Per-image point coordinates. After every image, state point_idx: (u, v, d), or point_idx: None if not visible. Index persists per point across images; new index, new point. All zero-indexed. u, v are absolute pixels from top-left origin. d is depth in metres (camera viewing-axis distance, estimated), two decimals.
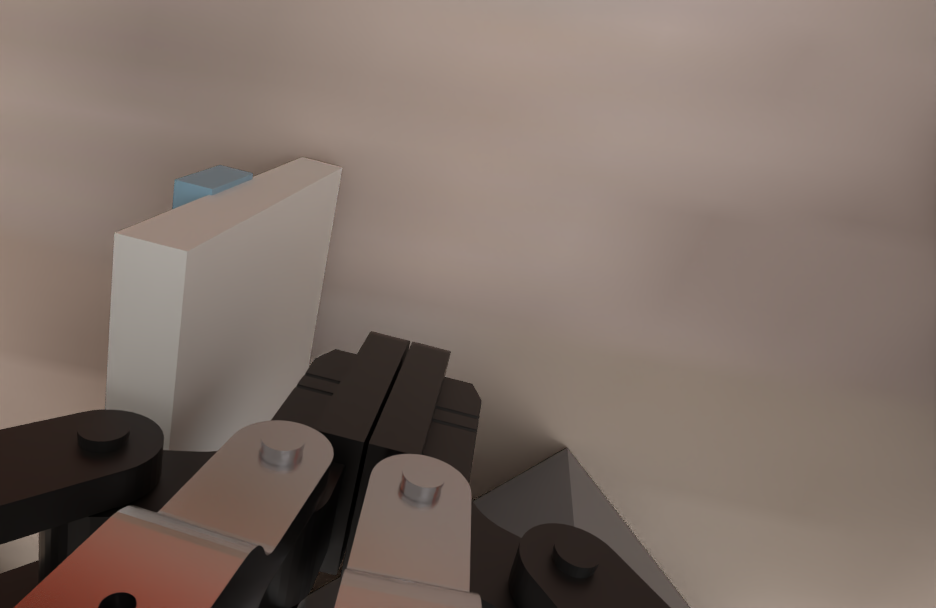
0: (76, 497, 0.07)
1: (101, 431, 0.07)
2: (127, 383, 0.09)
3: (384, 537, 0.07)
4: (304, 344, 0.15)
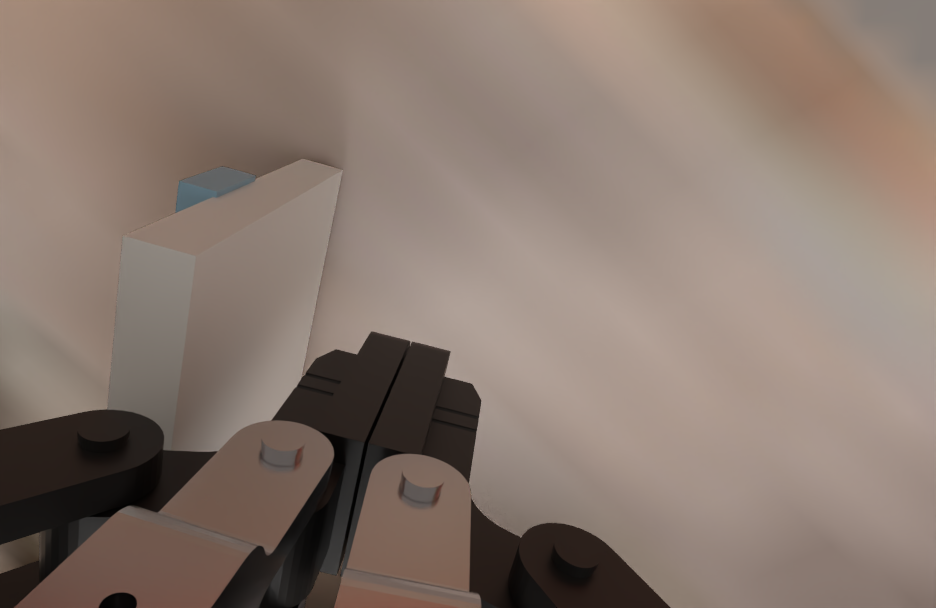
0: (77, 497, 0.07)
1: (103, 431, 0.07)
2: (130, 386, 0.09)
3: (384, 537, 0.07)
4: (300, 345, 0.15)
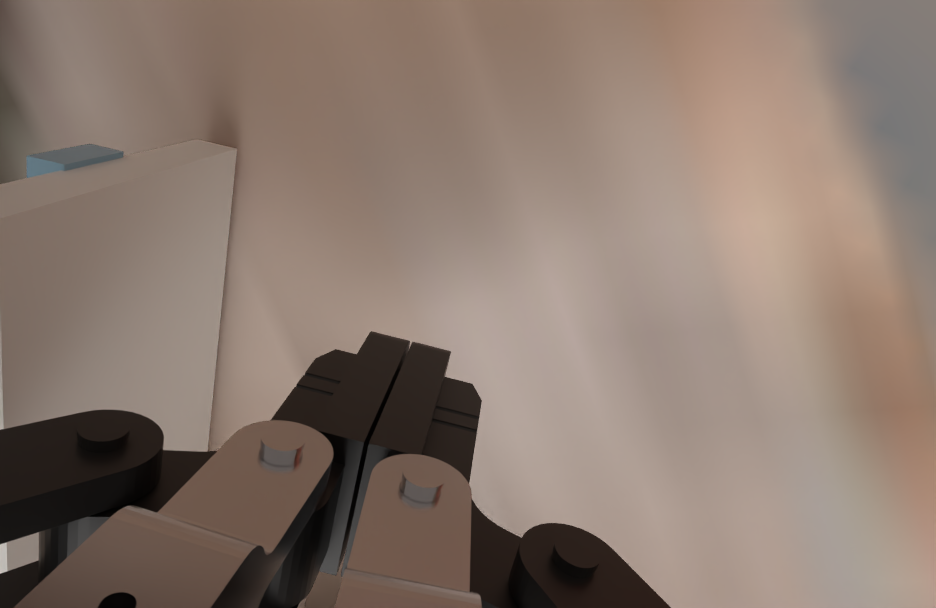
0: (76, 497, 0.07)
1: (102, 431, 0.07)
2: None
3: (384, 537, 0.07)
4: (206, 327, 0.15)
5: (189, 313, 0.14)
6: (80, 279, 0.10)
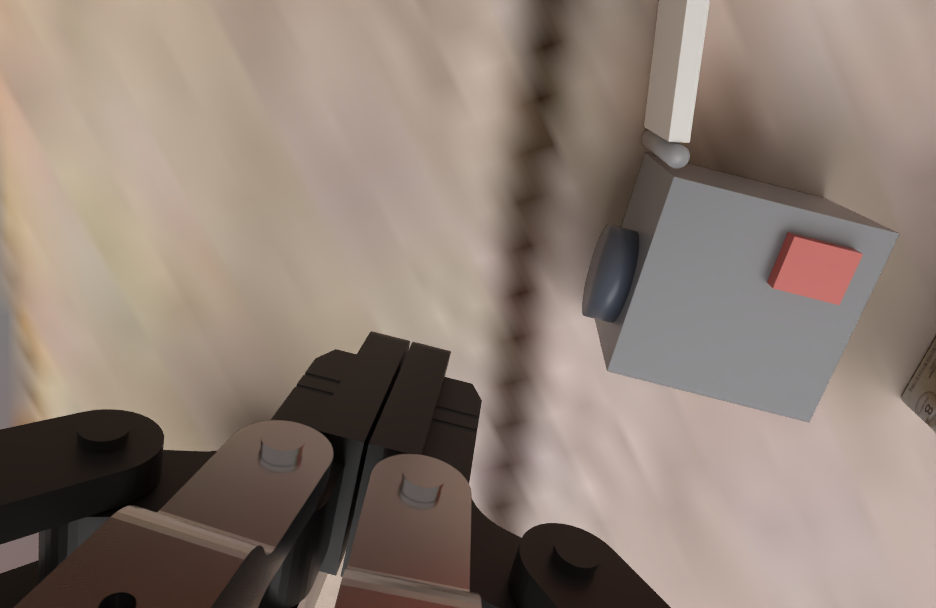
0: (76, 497, 0.07)
1: (102, 431, 0.07)
2: None
3: (384, 537, 0.07)
4: None
5: None
6: None
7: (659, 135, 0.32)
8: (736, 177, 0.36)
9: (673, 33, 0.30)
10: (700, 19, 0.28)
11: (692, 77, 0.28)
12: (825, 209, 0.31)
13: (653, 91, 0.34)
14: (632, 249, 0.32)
